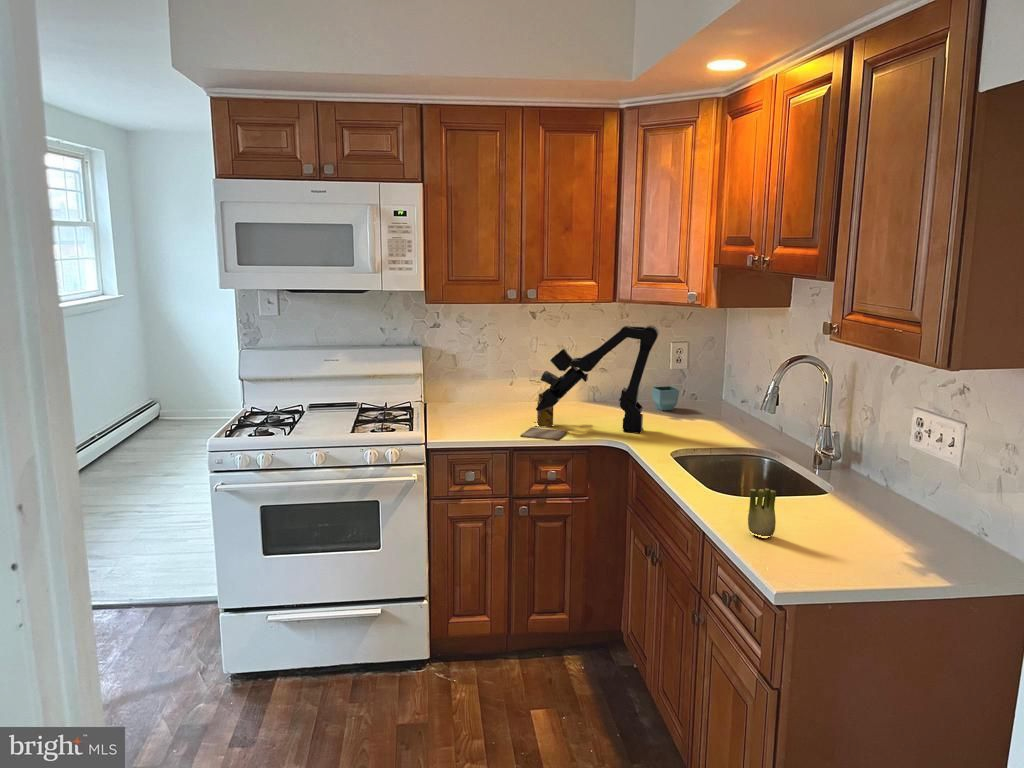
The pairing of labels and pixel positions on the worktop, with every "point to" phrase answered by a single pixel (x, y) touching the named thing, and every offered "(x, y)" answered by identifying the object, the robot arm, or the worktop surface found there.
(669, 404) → the flower pot
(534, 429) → the walnut coaster
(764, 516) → the fennel bulb
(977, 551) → the worktop surface
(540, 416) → the condiment
